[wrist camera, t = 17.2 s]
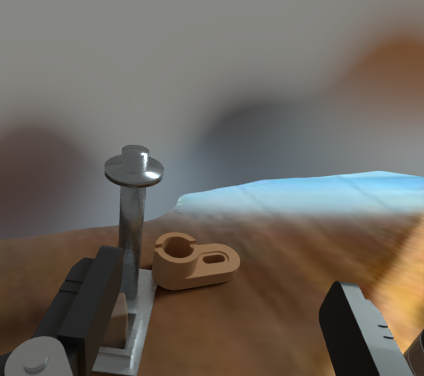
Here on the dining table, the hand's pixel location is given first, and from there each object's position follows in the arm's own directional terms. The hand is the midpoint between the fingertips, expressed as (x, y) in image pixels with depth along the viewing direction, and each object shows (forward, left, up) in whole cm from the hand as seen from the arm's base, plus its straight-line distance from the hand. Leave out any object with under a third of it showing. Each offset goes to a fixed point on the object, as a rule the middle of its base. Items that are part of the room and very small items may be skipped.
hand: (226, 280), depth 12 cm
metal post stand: (+10, -26, -38) cm, 47 cm away
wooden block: (+10, -21, -38) cm, 44 cm away
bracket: (-2, -38, -38) cm, 54 cm away
